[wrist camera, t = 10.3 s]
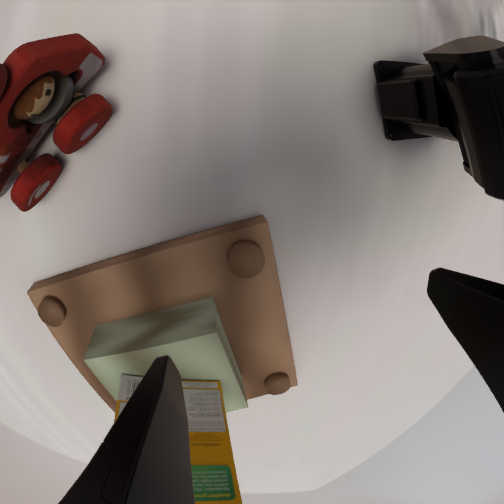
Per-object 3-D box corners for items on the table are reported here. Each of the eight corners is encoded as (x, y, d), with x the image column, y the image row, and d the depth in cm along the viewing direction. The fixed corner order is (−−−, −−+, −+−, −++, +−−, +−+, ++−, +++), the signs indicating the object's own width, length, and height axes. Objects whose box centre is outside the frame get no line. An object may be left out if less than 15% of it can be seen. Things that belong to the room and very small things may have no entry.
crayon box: (125, 396, 19) (117, 534, 8) (120, 372, 17) (104, 526, 7) (217, 402, 20) (241, 538, 10) (221, 379, 19) (250, 532, 9)
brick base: (262, 215, 20) (284, 245, 16) (293, 374, 29) (309, 414, 24) (34, 283, 19) (5, 321, 14) (123, 410, 27) (119, 449, 22)
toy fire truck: (141, 90, 15) (82, 57, 6) (33, 216, 17) (-48, 286, 8) (85, 31, 12) (9, -21, 3) (-14, 159, 14) (-103, 197, 5)
